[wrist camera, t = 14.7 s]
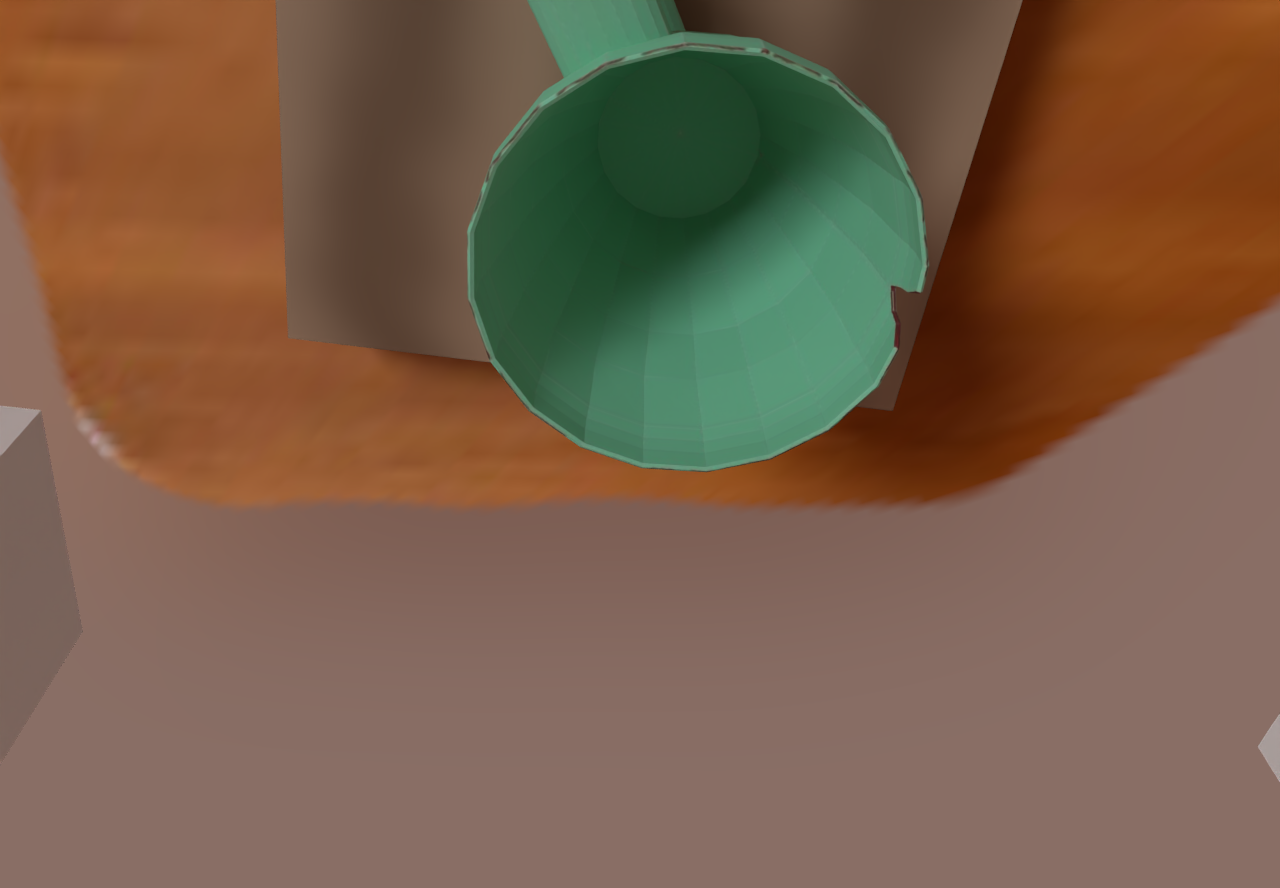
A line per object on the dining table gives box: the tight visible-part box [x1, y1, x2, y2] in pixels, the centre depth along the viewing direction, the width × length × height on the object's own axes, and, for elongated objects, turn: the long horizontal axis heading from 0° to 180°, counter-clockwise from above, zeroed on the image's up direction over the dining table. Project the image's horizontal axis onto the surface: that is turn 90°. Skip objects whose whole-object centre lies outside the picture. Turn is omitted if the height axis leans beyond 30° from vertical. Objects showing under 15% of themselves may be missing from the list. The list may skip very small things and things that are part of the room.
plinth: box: [276, 0, 1023, 411], centre depth 32 cm, size 20×20×4 cm
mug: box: [467, 0, 929, 472], centre depth 26 cm, size 15×10×10 cm
